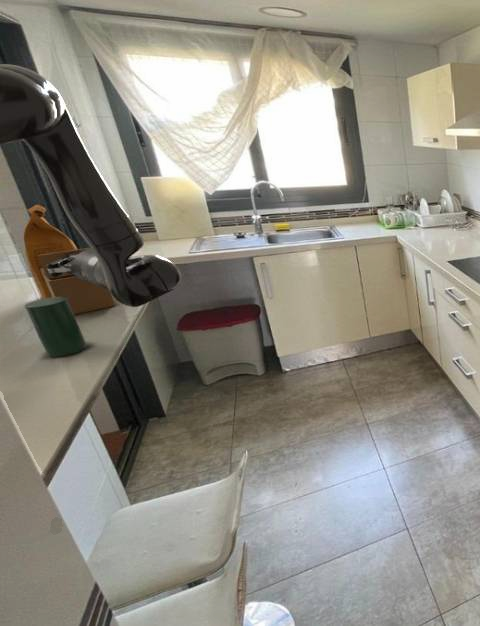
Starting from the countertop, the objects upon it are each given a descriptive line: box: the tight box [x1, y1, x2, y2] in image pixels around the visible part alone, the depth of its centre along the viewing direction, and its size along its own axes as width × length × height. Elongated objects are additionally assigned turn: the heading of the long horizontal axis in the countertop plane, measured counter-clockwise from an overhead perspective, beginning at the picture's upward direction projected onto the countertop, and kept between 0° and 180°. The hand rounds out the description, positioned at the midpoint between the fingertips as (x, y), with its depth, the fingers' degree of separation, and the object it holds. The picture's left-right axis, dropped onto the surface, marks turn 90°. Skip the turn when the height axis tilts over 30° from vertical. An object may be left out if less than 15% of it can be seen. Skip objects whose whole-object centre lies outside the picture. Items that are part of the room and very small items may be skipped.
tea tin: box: [24, 297, 88, 358], centre depth 86 cm, size 5×5×10 cm
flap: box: [38, 247, 91, 279], centre depth 101 cm, size 6×9×1 cm
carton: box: [40, 268, 116, 315], centre depth 108 cm, size 12×9×9 cm
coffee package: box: [23, 204, 78, 299], centre depth 113 cm, size 10×12×22 cm
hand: (71, 258), depth 101 cm, fingers closed
